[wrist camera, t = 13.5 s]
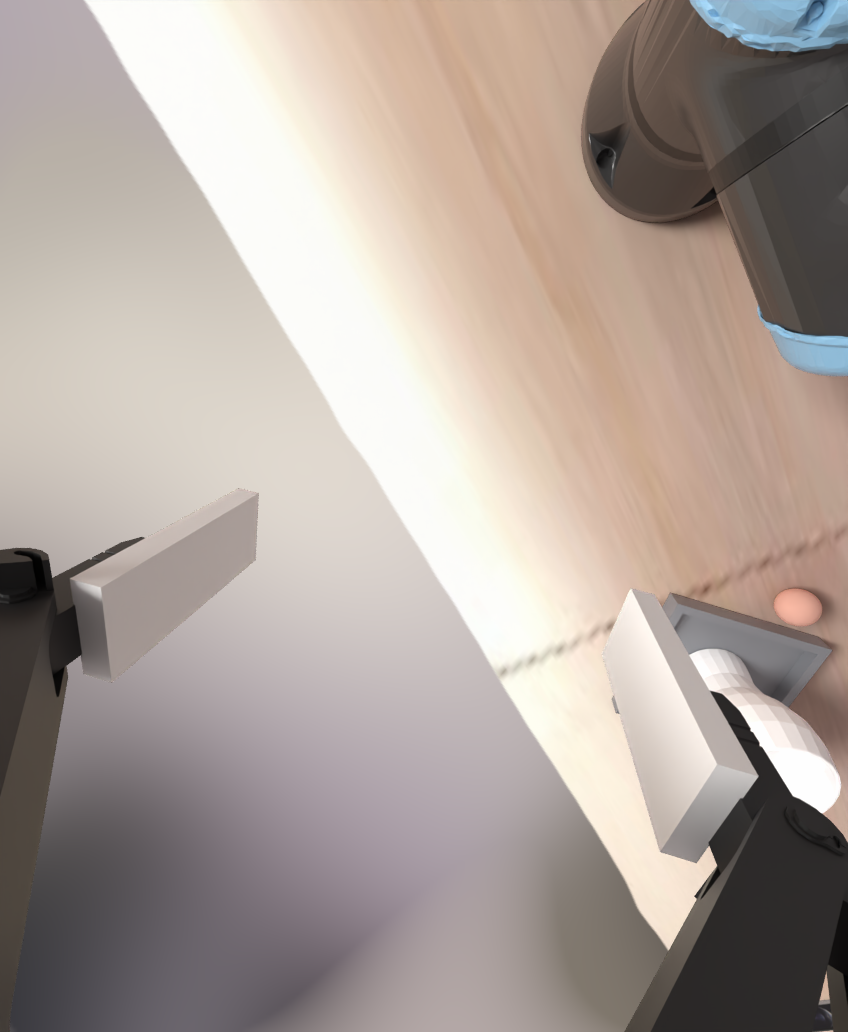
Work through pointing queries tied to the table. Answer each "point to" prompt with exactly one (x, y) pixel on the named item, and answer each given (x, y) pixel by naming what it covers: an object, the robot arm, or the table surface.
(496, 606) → the table surface
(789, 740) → the cup
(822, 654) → the tray
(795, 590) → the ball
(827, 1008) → the smartphone
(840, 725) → the table surface
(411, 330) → the table surface
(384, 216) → the table surface
